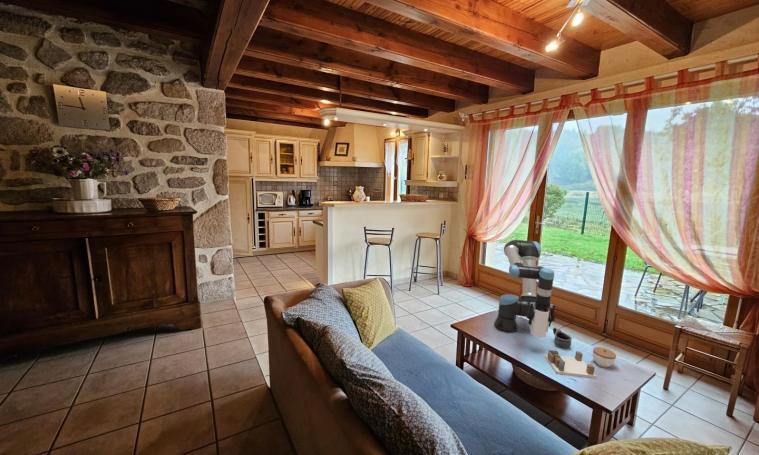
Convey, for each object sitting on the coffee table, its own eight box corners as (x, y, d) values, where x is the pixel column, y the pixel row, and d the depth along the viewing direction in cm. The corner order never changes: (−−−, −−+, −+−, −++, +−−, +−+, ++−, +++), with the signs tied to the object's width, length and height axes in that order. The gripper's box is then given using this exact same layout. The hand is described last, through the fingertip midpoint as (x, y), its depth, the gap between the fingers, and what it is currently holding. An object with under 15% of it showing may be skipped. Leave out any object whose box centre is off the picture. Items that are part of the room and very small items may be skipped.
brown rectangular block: (562, 367, 175) (563, 360, 174) (556, 367, 176) (557, 359, 175) (555, 358, 184) (556, 351, 184) (549, 357, 185) (551, 350, 184)
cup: (547, 338, 189) (551, 313, 186) (532, 336, 190) (536, 311, 187) (543, 331, 197) (546, 307, 194) (529, 329, 198) (532, 305, 195)
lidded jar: (587, 361, 186) (589, 346, 185) (599, 357, 191) (601, 343, 189) (606, 371, 177) (608, 356, 175) (618, 367, 181) (621, 352, 180)
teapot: (563, 351, 196) (566, 336, 194) (545, 341, 207) (547, 327, 205) (574, 348, 200) (576, 333, 198) (556, 339, 211) (558, 324, 209)
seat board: (544, 356, 189) (545, 346, 188) (580, 360, 187) (582, 350, 186) (556, 374, 172) (558, 363, 171) (596, 378, 170) (598, 367, 169)
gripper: (527, 295, 187) (522, 331, 191) (565, 298, 184) (559, 335, 188) (523, 290, 194) (518, 325, 198) (559, 293, 191) (554, 329, 196)
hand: (538, 330), depth 193 cm, fingers closed on cup, 8 cm apart
